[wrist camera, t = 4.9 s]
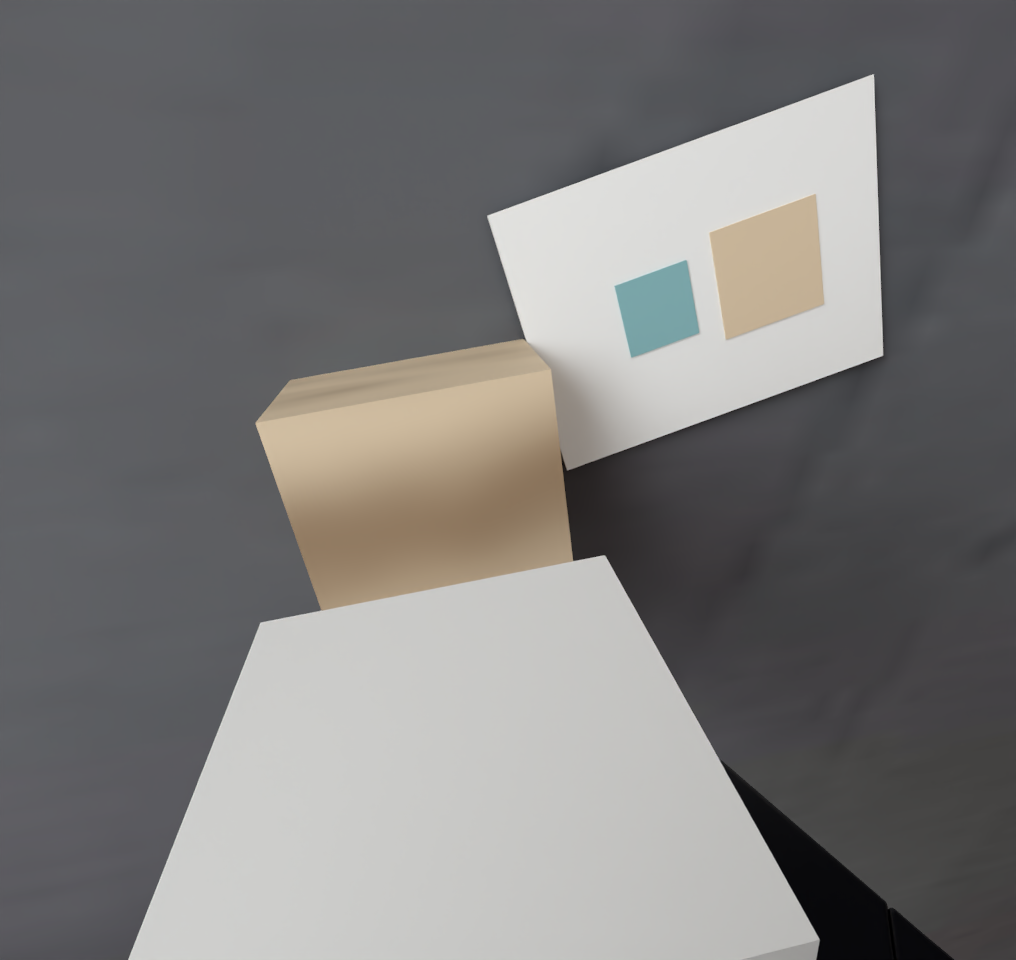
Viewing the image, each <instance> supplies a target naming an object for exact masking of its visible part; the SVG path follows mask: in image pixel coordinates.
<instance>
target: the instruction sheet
mask: <svg viewBox="0 0 1016 960" xmlns="http://www.w3.org/2000/svg"><path fill="white" fill-rule="evenodd" d="M487 217H488V220H489V224H490V227H491V230H492V233H493V236H494V240H495V243H496V246H497V249H498V252H499V256H500V259H501V262H502V265H503V268H504V272H505V275H506V278H507V281H508V284H509V288H510V291H511V294H512V297H513V300H514V304H515V307H516V310H517V313H518V316H519V320H520V323H521V326H522V329H523V332H524V336H525V339H526V342H527V343H528V344H529V346H530V347H531V348H532V349H533V350H534V351H535V352H536V353H537V354H538V355H539V357H540V358H541V359H542V360H543V361H544V362H545V363H546V364H547V365H548V366H549V368H550V369H551V373H552V382H553V390H554V399H555V408H556V417H557V425H558V434H559V443H560V451H561V454H562V457H563V460H564V464H565V467H566V469H567V471H568V470H570V469H573V468H576V467H579V466H581V465H584V464H587V463H590V462H592V461H595V460H598V459H601V458H603V457H606V456H609V455H612V454H614V453H617V452H620V451H623V450H625V449H628V448H631V447H634V446H636V445H639V444H642V443H645V442H647V441H650V440H653V439H656V438H658V437H661V436H664V435H667V434H669V433H672V432H675V431H678V430H680V429H683V428H686V427H689V426H691V425H694V424H697V423H700V422H702V421H705V420H708V419H711V418H713V417H716V416H719V415H722V414H724V413H727V412H730V411H733V410H735V409H738V408H741V407H744V406H746V405H749V404H752V403H755V402H757V401H760V400H763V399H766V398H768V397H771V396H774V395H777V394H779V393H782V392H785V391H787V390H790V389H793V388H796V387H798V386H801V385H804V384H807V383H809V382H812V381H815V380H818V379H820V378H823V377H826V376H829V375H831V374H834V373H837V372H840V371H842V370H845V369H848V368H851V367H853V366H856V365H859V364H862V363H864V362H867V361H870V360H873V359H875V358H878V357H881V356H883V333H882V303H881V274H880V244H879V214H878V184H877V154H876V124H875V94H874V74H873V75H870V76H867V77H865V78H862V79H859V80H856V81H854V82H851V83H848V84H846V85H843V86H840V87H837V88H835V89H832V90H829V91H826V92H824V93H821V94H818V95H816V96H813V97H810V98H807V99H805V100H802V101H799V102H796V103H794V104H791V105H788V106H786V107H783V108H780V109H777V110H775V111H772V112H769V113H766V114H764V115H761V116H758V117H756V118H753V119H750V120H747V121H745V122H742V123H739V124H736V125H734V126H731V127H728V128H725V129H723V130H720V131H717V132H715V133H712V134H709V135H706V136H704V137H701V138H698V139H695V140H693V141H690V142H687V143H685V144H682V145H679V146H676V147H674V148H671V149H668V150H665V151H663V152H660V153H657V154H655V155H652V156H649V157H646V158H644V159H641V160H638V161H635V162H633V163H630V164H627V165H625V166H622V167H619V168H616V169H614V170H611V171H608V172H605V173H603V174H600V175H597V176H595V177H592V178H589V179H586V180H584V181H581V182H578V183H575V184H573V185H570V186H567V187H565V188H562V189H559V190H556V191H554V192H551V193H548V194H545V195H543V196H540V197H537V198H535V199H532V200H529V201H526V202H524V203H521V204H518V205H515V206H513V207H510V208H507V209H505V210H502V211H499V212H496V213H494V214H491V215H488V216H487Z"/></svg>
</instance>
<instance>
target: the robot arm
mask: <svg viewBox="0 0 1016 960" xmlns="http://www.w3.org/2000/svg"><path fill="white" fill-rule="evenodd" d="M719 760H720V759H719ZM720 762H721V764H722V766H723V767H724V769H725V771H726V773H727V775H728V776H729V778H730V780H731V782H732V784H733V785H734V787H735V789H736V791H737V792H738V794H739V796H740V798H741V800H742V801H743V803H744V805H745V807H746V809H747V810H748V812H749V814H750V816H751V818H752V819H753V821H754V823H755V825H756V826H757V828H758V830H759V832H760V834H761V835H762V837H763V839H764V841H765V843H766V844H767V846H768V848H769V850H770V852H771V853H772V855H773V857H774V859H775V860H776V862H777V864H778V866H779V868H780V869H781V871H782V873H783V875H784V877H785V878H786V880H787V882H788V884H789V886H790V887H791V889H792V891H793V893H794V895H795V896H796V898H797V900H798V902H799V903H800V905H801V907H802V909H803V911H804V912H805V914H806V916H807V918H808V920H809V921H810V923H811V925H812V927H813V929H814V930H815V932H816V934H817V936H818V937H819V939H820V941H819V947H818V953H817V959H816V960H954V959H953V958H952V957H951V956H949V955H948V954H947V953H946V952H944V951H943V950H942V949H941V948H940V947H938V946H937V945H936V944H935V943H934V942H932V941H931V940H930V939H929V938H928V937H926V936H925V935H924V934H923V933H922V932H921V931H919V930H918V929H917V928H916V927H915V926H914V925H912V924H911V923H910V922H909V921H908V920H907V919H905V918H904V917H903V916H902V915H901V914H900V913H899V912H897V911H896V910H895V909H893V908H889V909H888V906H887V903H886V902H885V901H884V900H883V899H882V898H881V897H880V896H878V895H877V894H876V893H875V892H874V891H873V890H871V889H870V888H869V887H868V886H867V885H866V884H864V883H863V882H862V881H861V880H860V879H859V878H857V877H856V876H855V875H854V874H853V873H852V872H851V871H849V870H848V869H847V868H846V867H845V866H844V865H842V864H841V863H840V862H839V861H838V860H837V859H835V858H834V857H833V856H832V855H831V854H830V853H828V852H827V851H826V850H825V849H824V848H823V847H821V846H820V845H819V844H818V843H817V842H816V841H814V840H813V839H812V838H811V837H810V836H809V835H807V834H806V833H805V832H804V831H803V830H802V829H800V828H799V827H798V826H797V825H796V824H795V823H794V822H792V821H791V820H790V819H789V818H788V817H787V816H785V815H784V814H783V813H782V812H781V811H780V810H778V809H777V808H776V807H775V806H774V805H773V804H771V803H770V802H769V801H768V800H767V799H766V798H764V797H763V796H762V795H761V794H760V793H759V792H757V791H756V790H755V789H754V788H753V787H752V786H750V785H749V784H748V783H747V782H746V781H745V780H743V779H742V778H741V777H740V776H739V775H738V774H736V773H735V772H734V771H733V770H732V769H731V768H730V767H728V766H727V765H726V764H725V763H724V762H723V761H721V760H720Z"/></svg>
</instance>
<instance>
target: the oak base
mask: <svg viewBox="0 0 1016 960" xmlns="http://www.w3.org/2000/svg"><path fill="white" fill-rule="evenodd" d="M256 426H257V429H258V432H259V435H260V438H261V440H262V443H263V446H264V449H265V452H266V455H267V457H268V460H269V463H270V466H271V469H272V472H273V474H274V477H275V480H276V483H277V486H278V489H279V491H280V494H281V497H282V500H283V503H284V506H285V508H286V511H287V514H288V517H289V520H290V522H291V525H292V528H293V531H294V534H295V537H296V539H297V542H298V545H299V548H300V551H301V554H302V556H303V559H304V562H305V565H306V568H307V571H308V573H309V576H310V579H311V582H312V585H313V588H314V590H315V593H316V596H317V599H318V602H319V605H320V607H321V610H322V611H323V610H328V609H333V608H338V607H343V606H348V605H353V604H359V603H364V602H369V601H374V600H379V599H384V598H389V597H394V596H399V595H404V594H410V593H415V592H420V591H425V590H430V589H435V588H440V587H445V586H450V585H455V584H460V583H466V582H471V581H476V580H481V579H486V578H491V577H496V576H501V575H506V574H511V573H516V572H522V571H527V570H532V569H537V568H542V567H547V566H552V565H557V564H562V563H567V562H572V561H573V556H572V547H571V539H570V530H569V521H568V512H567V504H566V495H565V486H564V478H563V469H562V460H561V451H560V443H559V434H558V425H557V417H556V408H555V399H554V390H553V382H552V373H551V369H550V368H549V366H548V365H547V364H546V363H545V362H544V361H543V360H542V359H541V358H540V357H539V355H538V354H537V353H536V352H535V351H534V350H533V349H532V348H531V347H530V346H529V344H528V343H527V342H526V341H525V340H524V339H520V340H514V341H509V342H503V343H497V344H492V345H486V346H481V347H475V348H469V349H464V350H458V351H452V352H447V353H441V354H435V355H430V356H424V357H418V358H413V359H407V360H402V361H396V362H390V363H385V364H379V365H373V366H368V367H362V368H356V369H351V370H345V371H340V372H334V373H328V374H323V375H317V376H311V377H306V378H300V379H294V380H290V381H289V382H288V383H287V385H286V386H285V387H284V388H283V389H282V391H281V392H280V393H279V394H278V396H277V397H276V398H275V399H274V401H273V402H272V403H271V404H270V406H269V407H268V408H267V409H266V410H265V412H264V413H263V414H262V415H261V417H260V418H259V419H258V420H257V422H256Z"/></svg>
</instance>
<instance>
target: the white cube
mask: <svg viewBox="0 0 1016 960" xmlns="http://www.w3.org/2000/svg"><path fill="white" fill-rule="evenodd" d="M819 941H820V939H819V937H818V936H817V934H816V932H815V930H814V929H813V927H812V925H811V923H810V921H809V920H808V918H807V916H806V914H805V912H804V911H803V909H802V907H801V905H800V903H799V902H798V900H797V898H796V896H795V895H794V893H793V891H792V889H791V887H790V886H789V884H788V882H787V880H786V878H785V877H784V875H783V873H782V871H781V869H780V868H779V866H778V864H777V862H776V860H775V859H774V857H773V855H772V853H771V852H770V850H769V848H768V846H767V844H766V843H765V841H764V839H763V837H762V835H761V834H760V832H759V830H758V828H757V826H756V825H755V823H754V821H753V819H752V818H751V816H750V814H749V812H748V810H747V809H746V807H745V805H744V803H743V801H742V800H741V798H740V796H739V794H738V792H737V791H736V789H735V787H734V785H733V784H732V782H731V780H730V778H729V776H728V775H727V773H726V771H725V769H724V767H723V766H722V764H721V762H720V760H719V758H718V757H717V755H716V753H715V751H714V749H713V748H712V746H711V744H710V742H709V741H708V739H707V737H706V735H705V733H704V732H703V730H702V728H701V726H700V724H699V723H698V721H697V719H696V717H695V715H694V714H693V712H692V710H691V708H690V707H689V705H688V703H687V701H686V699H685V698H684V696H683V694H682V692H681V690H680V689H679V687H678V685H677V683H676V681H675V680H674V678H673V676H672V674H671V673H670V671H669V669H668V667H667V665H666V664H665V662H664V660H663V658H662V656H661V655H660V653H659V651H658V649H657V647H656V646H655V644H654V642H653V640H652V638H651V637H650V635H649V633H648V631H647V630H646V628H645V626H644V624H643V622H642V621H641V619H640V617H639V615H638V613H637V612H636V610H635V608H634V606H633V604H632V603H631V601H630V599H629V597H628V596H627V594H626V592H625V590H624V588H623V587H622V585H621V583H620V581H619V579H618V578H617V576H616V574H615V572H614V570H613V569H612V567H611V565H610V563H609V561H608V560H607V558H606V556H605V555H603V556H598V557H593V558H588V559H583V560H578V561H572V562H567V563H562V564H557V565H552V566H547V567H542V568H537V569H532V570H527V571H522V572H516V573H511V574H506V575H501V576H496V577H491V578H486V579H481V580H476V581H471V582H466V583H460V584H455V585H450V586H445V587H440V588H435V589H430V590H425V591H420V592H415V593H410V594H404V595H399V596H394V597H389V598H384V599H379V600H374V601H369V602H364V603H359V604H353V605H348V606H343V607H338V608H333V609H328V610H323V611H318V612H313V613H308V614H303V615H297V616H292V617H287V618H282V619H277V620H272V621H267V622H262V623H260V626H259V628H258V631H257V633H256V636H255V638H254V641H253V643H252V646H251V648H250V651H249V654H248V656H247V659H246V661H245V664H244V666H243V669H242V671H241V674H240V676H239V679H238V682H237V684H236V687H235V689H234V692H233V694H232V697H231V699H230V702H229V705H228V707H227V710H226V712H225V715H224V717H223V720H222V722H221V725H220V727H219V730H218V733H217V735H216V738H215V740H214V743H213V745H212V748H211V750H210V753H209V755H208V758H207V761H206V763H205V766H204V768H203V771H202V773H201V776H200V778H199V781H198V783H197V786H196V789H195V791H194V794H193V796H192V799H191V801H190V804H189V806H188V809H187V811H186V814H185V817H184V819H183V822H182V824H181V827H180V829H179V832H178V834H177V837H176V840H175V842H174V845H173V847H172V850H171V852H170V855H169V857H168V860H167V862H166V865H165V868H164V870H163V873H162V875H161V878H160V880H159V883H158V885H157V888H156V890H155V893H154V896H153V898H152V901H151V903H150V906H149V908H148V911H147V913H146V916H145V918H144V921H143V924H142V926H141V929H140V931H139V934H138V936H137V939H136V941H135V944H134V946H133V949H132V952H131V954H130V957H129V959H128V960H816V959H817V953H818V947H819Z"/></svg>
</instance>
